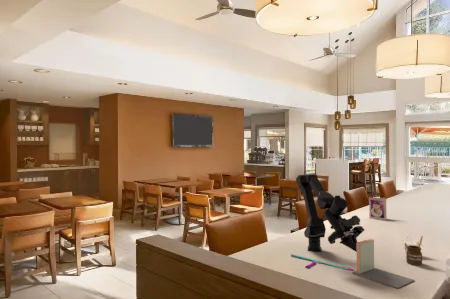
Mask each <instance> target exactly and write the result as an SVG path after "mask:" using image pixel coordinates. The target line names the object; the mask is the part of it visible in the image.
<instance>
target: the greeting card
mask: <svg viewBox="0 0 450 299" xmlns="http://www.w3.org/2000/svg"><path fill="white" fill-rule="evenodd" d="M368 200H369V201H368V202H369V205H368V207H369V209H368V210H369V211H368V212H369V219H372V220H373V219H374V220H380V221H387V197H369V198H368Z"/></svg>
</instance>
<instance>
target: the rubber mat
mask: <svg viewBox="0 0 450 299" xmlns="http://www.w3.org/2000/svg"><path fill="white" fill-rule="evenodd" d="M351 272H352V274H353V275H356V276H359V277H361V278H364V279H368V280H370V281H373V282H376V283H379V284H382V285H385V286H387V287H391V288H394V289H397V290H398V289H401V288H403V287H405V286H407V285H408V284H411V283H413V282H415V279H413V278H409V277H406V276H403V275H399V274H395V273H393V272H389V271H386V270H383V269H380V268H377V267H374V269H372V270H369V271H366V272H364V273H361V274H359V273H357V270H356V271H351Z"/></svg>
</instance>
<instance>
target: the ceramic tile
mask: <svg viewBox="0 0 450 299" xmlns="http://www.w3.org/2000/svg"><path fill="white" fill-rule="evenodd" d="M356 249H357V252H356V271H357V273H359V274H361V273H364V272H366V271H369V270H372V269H374V268H375V240H374V239H373V238H369V239H364V240H362V241H357V243H356Z"/></svg>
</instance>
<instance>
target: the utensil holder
mask: <svg viewBox="0 0 450 299" xmlns="http://www.w3.org/2000/svg"><path fill="white" fill-rule="evenodd" d="M423 238H424V237H423V235H421V237H420V239H419V241H420V244H422V242H423ZM409 240H412V238H411V237H410V236H409V237H407V239H406V242H409ZM411 242H412V243H413V242H414V241H411ZM407 244H408V243H407ZM420 244H419V247H418V246H412V245H411V244H410V246H409V245H408V246H407V249H408V250H407V252H405V255H406V256H405V258H406V263H408V264H409V265H412V266H421V265H422V264H423V253H422V249H421V248H420Z"/></svg>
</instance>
